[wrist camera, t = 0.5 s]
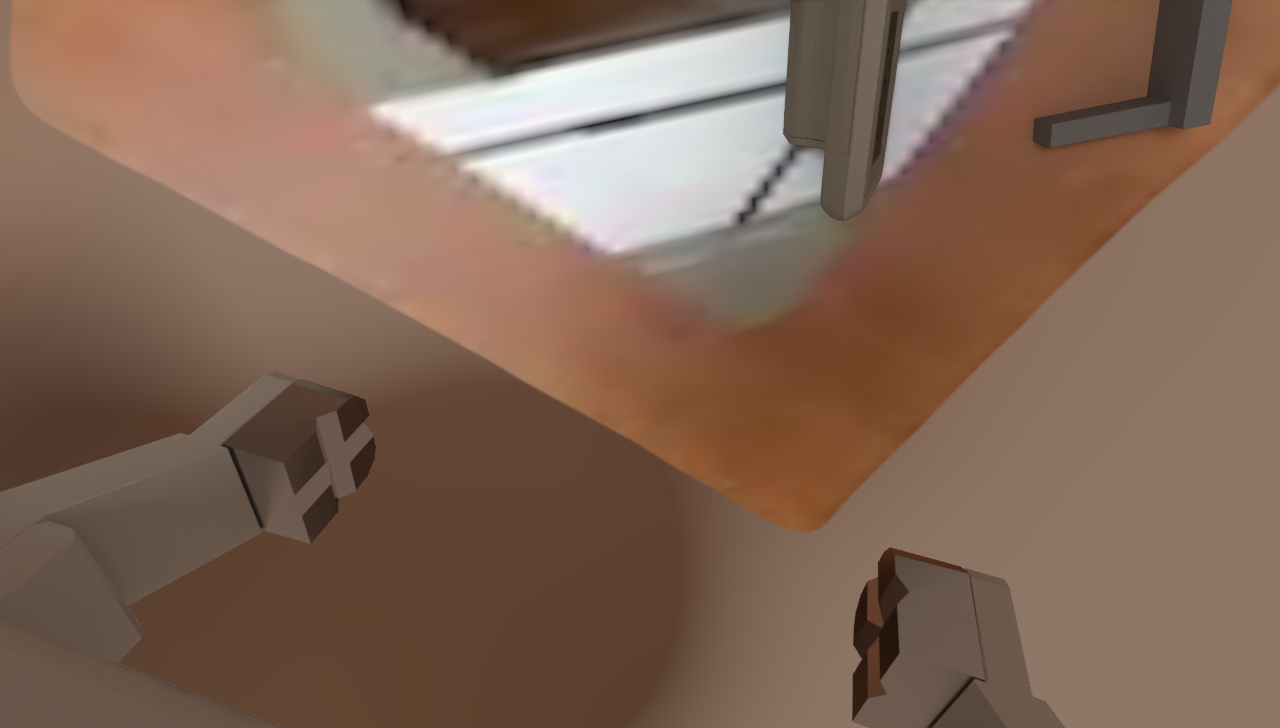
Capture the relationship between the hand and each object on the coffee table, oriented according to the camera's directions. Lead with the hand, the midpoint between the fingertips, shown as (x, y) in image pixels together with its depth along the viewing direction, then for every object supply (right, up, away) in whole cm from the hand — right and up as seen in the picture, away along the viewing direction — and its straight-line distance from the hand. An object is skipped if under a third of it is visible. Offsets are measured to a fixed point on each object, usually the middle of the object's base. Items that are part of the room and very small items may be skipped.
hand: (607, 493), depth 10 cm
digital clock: (+15, +22, +34) cm, 43 cm away
